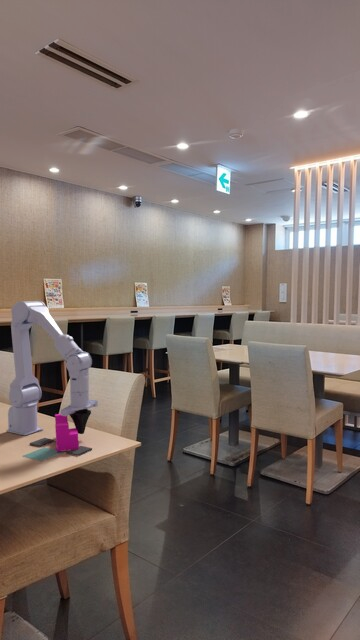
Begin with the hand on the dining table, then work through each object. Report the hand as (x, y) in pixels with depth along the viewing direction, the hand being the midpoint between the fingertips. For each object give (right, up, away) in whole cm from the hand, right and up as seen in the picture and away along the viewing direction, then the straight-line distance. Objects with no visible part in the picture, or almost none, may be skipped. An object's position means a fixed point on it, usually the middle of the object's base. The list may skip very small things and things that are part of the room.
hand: (80, 433), depth 146 cm
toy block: (-3, -2, -4) cm, 6 cm away
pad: (-8, -3, -13) cm, 16 cm away
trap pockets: (-5, -2, -7) cm, 9 cm away
